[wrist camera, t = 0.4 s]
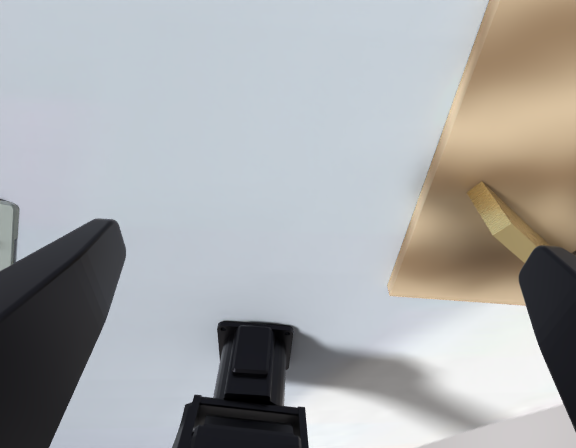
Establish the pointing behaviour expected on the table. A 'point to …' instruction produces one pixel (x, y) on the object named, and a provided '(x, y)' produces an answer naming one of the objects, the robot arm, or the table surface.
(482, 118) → the oak board
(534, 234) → the olive tan bar
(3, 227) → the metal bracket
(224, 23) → the table surface
